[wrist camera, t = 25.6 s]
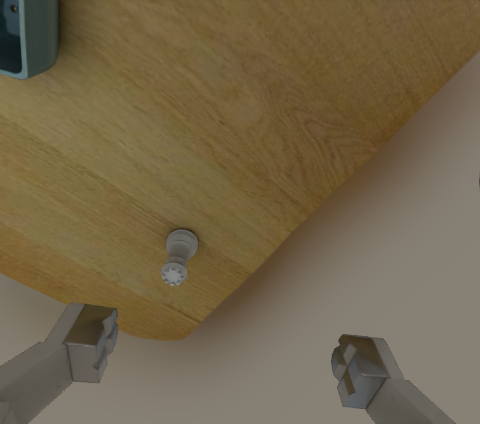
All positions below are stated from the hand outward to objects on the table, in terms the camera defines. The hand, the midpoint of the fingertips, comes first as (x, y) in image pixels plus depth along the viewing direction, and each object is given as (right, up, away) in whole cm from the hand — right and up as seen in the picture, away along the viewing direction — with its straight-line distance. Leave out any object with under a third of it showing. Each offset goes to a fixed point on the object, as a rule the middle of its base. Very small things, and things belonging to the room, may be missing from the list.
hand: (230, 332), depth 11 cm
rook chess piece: (-8, 0, +33) cm, 34 cm away
